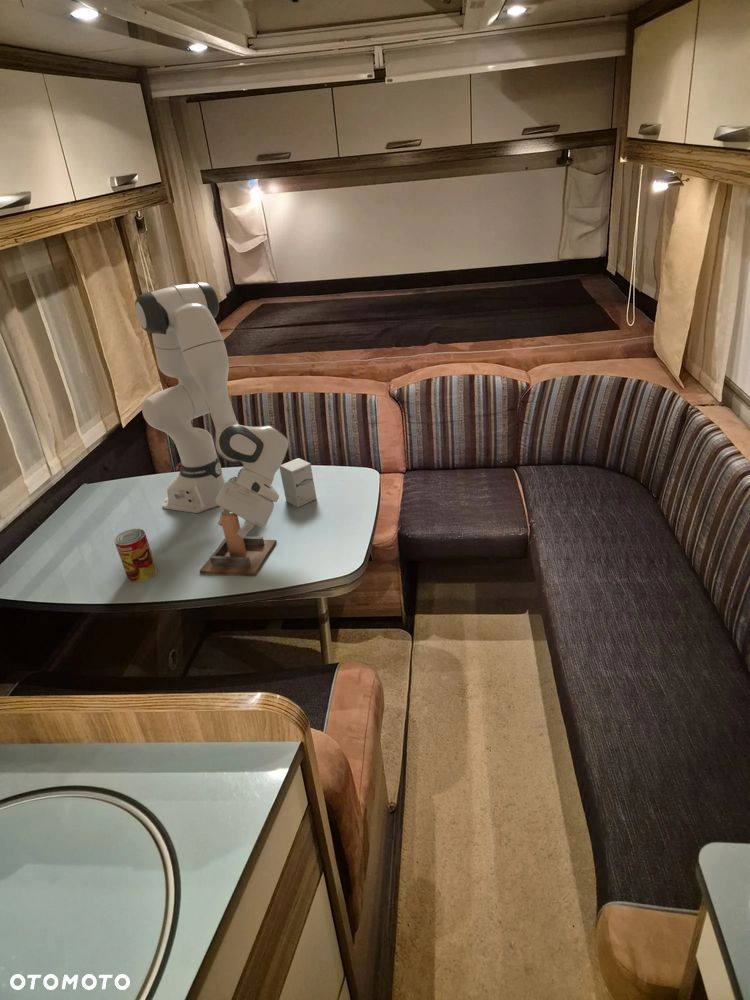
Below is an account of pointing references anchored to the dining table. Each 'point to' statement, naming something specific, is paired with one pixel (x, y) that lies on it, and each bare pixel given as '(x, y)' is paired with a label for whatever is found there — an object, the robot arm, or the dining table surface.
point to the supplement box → (298, 482)
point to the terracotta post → (233, 535)
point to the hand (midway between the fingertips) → (230, 530)
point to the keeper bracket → (239, 558)
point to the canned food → (136, 555)
